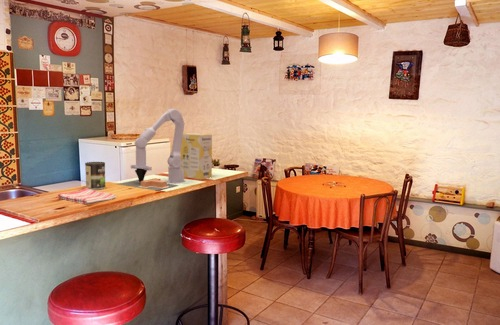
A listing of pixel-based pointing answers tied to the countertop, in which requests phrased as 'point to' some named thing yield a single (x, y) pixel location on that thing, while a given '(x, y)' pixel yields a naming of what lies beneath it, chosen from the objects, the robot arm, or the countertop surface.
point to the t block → (154, 183)
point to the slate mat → (138, 184)
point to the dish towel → (86, 196)
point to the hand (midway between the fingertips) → (141, 181)
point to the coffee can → (95, 175)
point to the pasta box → (196, 155)
